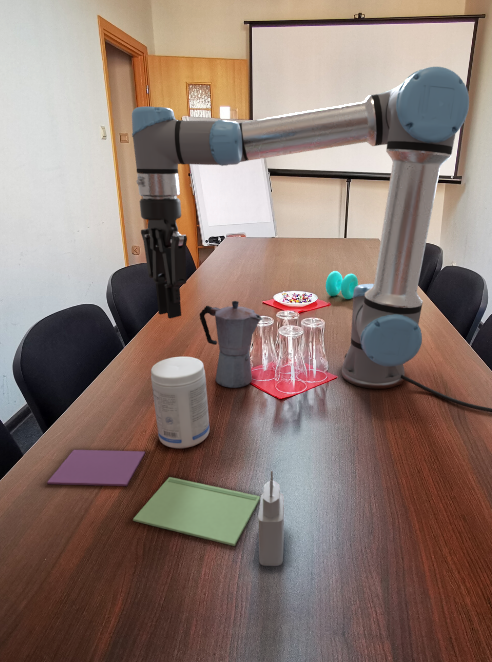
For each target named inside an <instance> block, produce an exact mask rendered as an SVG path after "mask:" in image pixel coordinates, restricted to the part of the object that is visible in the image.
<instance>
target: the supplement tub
mask: <svg viewBox="0 0 492 662" xmlns="http://www.w3.org/2000/svg"><path fill="white" fill-rule="evenodd" d="M150 374H151V376H150V379H151V388H152V389H151V390H152V397H153V404H154V413H155V419H156V426H157V434H158V435H157V436H158V439H159V441H160V443H162V445H164V446H166V447H168V448H172V449H189V448H191V447H194V446H196V445H198V444H200V443H202V442H203V441H204V440H206V439H207V437H208V436H209V433H210V429H211V428H210V416H209V405H208V404H209V403H208V391H207V379H206V371H205V368H204V362H203V361H202V360H200V359H199V358H196V357H192V356H175V357H168V358H165V359H162V360H159V361H157V362H156V363H155V364H153V366H152V367H151V369H150Z"/></svg>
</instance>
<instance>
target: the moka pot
mask: <svg viewBox="0 0 492 662" xmlns="http://www.w3.org/2000/svg"><path fill="white" fill-rule="evenodd" d="M239 303H240V302H239V301H238V300H233V301H231V305H232V306H225V307H221V308H220V307H218V306H217V307H216V306H215V307H212V306H210V305H205V307H204V308H203V309H202V310H201V312H199V320H200V322H201V326H202V328H203V331H204V333H205V334H204V335H205V337H206V340H207V341H206V342H207V343H208V344H211V345H214V346H215V345H217V344H218V348H219V349H218V350H219V353H218V360H217V367H216V373H215V382H216V383H217V384H218V385H220V386H221V387H224V388H225V387H226V388H231V389H236V388H243V387H246V386H248V385H250V383H252V382H253V377H252V376H253V375H252V366H251V355H250V353H251V352H250V350H251V345H252V340H253V334H254V333H255V331H256V329H257V327H258V325H259V323H260V321H262V320H263V318H262V316H261V315H260V314H258V313H256V311H255V310H254V309H252V308H249V307H246V306H239ZM207 314H209V315H210V316H212V317H214V318H215V327H216V335H217V340H213V339H212V336H211V334H210V330H209V326H208V323H207V319H206V316H205V315H207Z"/></svg>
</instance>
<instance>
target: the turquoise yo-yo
mask: <svg viewBox="0 0 492 662" xmlns="http://www.w3.org/2000/svg"><path fill="white" fill-rule="evenodd" d="M358 285H359V280H358V277H357V275H355V274H354V273H348V274H346V275H345V276H344V277H343V275H342V274H341V273H340V272H339V271H338V270H333V271H331V272H330V273H329V274H328V276H327V277H326V281H325V291H326V293H327V295H328V296H330V297H336V296H337V295H339V294H340V293H341V296H342V297H343V298H344V299H345V300H351V299H352V297H353V294H354V289H355V287H356V286H358Z"/></svg>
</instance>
